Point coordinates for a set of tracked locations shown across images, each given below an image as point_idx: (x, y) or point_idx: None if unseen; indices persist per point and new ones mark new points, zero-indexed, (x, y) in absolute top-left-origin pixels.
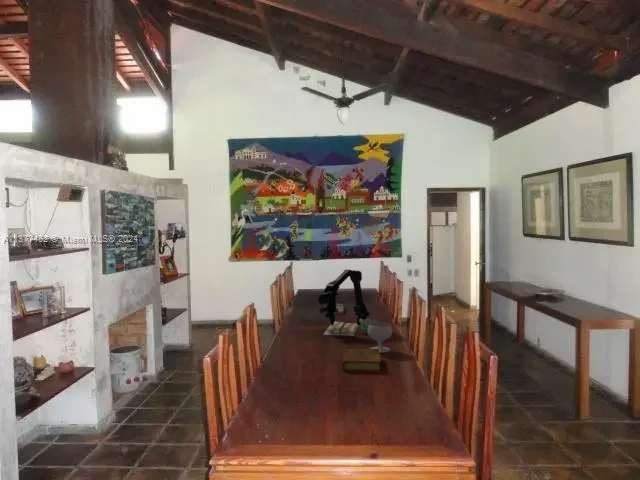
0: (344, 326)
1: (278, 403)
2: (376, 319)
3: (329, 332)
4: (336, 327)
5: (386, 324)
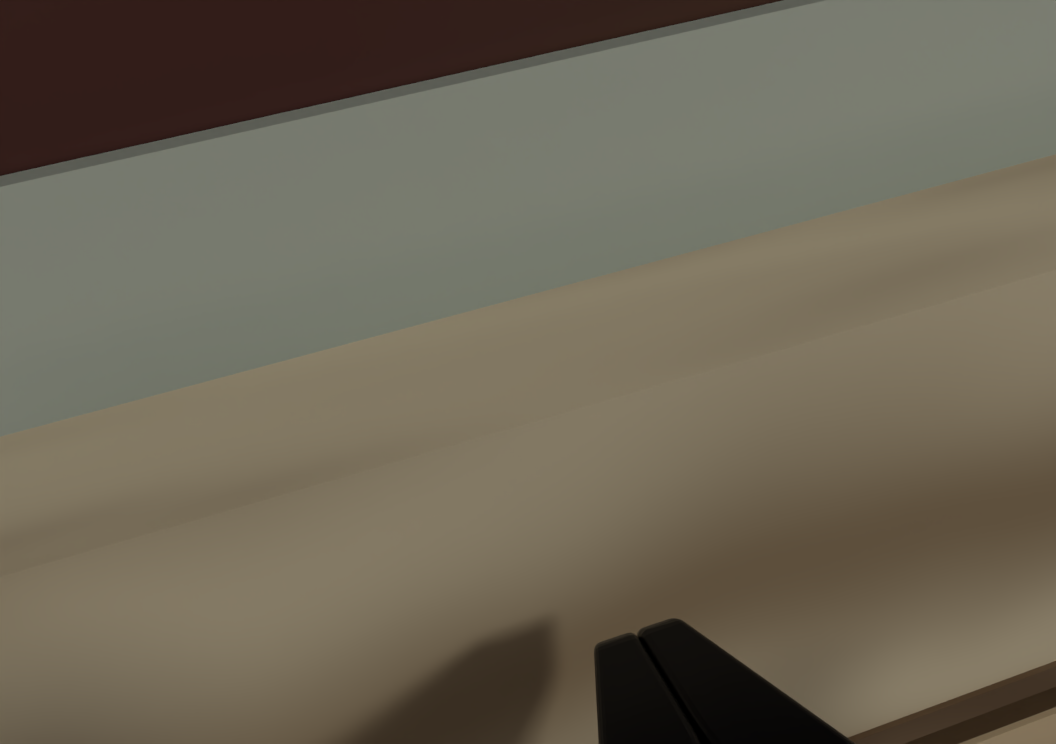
0: (1032, 725)
1: None
2: None
3: None
4: None
5: None
